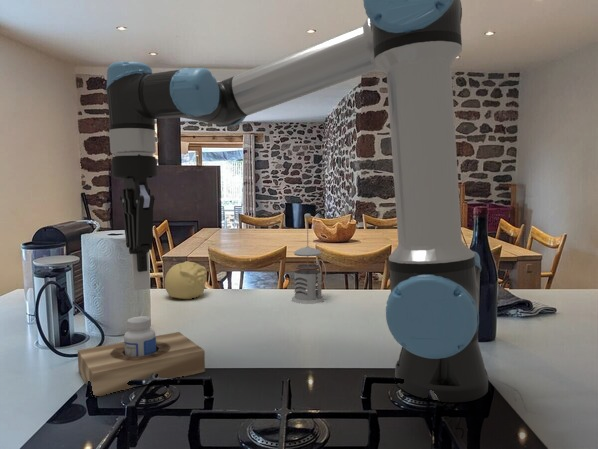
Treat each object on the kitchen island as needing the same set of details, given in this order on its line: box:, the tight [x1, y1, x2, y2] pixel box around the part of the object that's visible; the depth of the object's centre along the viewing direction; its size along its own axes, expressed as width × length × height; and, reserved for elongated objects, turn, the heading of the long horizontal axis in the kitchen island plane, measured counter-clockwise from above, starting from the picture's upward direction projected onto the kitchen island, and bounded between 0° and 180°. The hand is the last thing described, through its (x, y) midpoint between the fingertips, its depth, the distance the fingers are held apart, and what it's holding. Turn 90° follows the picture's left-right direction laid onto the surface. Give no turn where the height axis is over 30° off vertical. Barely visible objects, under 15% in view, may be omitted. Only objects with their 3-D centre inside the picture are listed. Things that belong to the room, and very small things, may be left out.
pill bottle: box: [123, 315, 157, 356], centre depth 89 cm, size 6×5×10 cm
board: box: [77, 331, 206, 397], centre depth 89 cm, size 13×19×4 cm
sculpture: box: [164, 260, 208, 300], centre depth 145 cm, size 12×12×11 cm
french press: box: [291, 213, 327, 305], centre depth 140 cm, size 10×12×25 cm
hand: (141, 288), depth 88 cm, fingers closed
